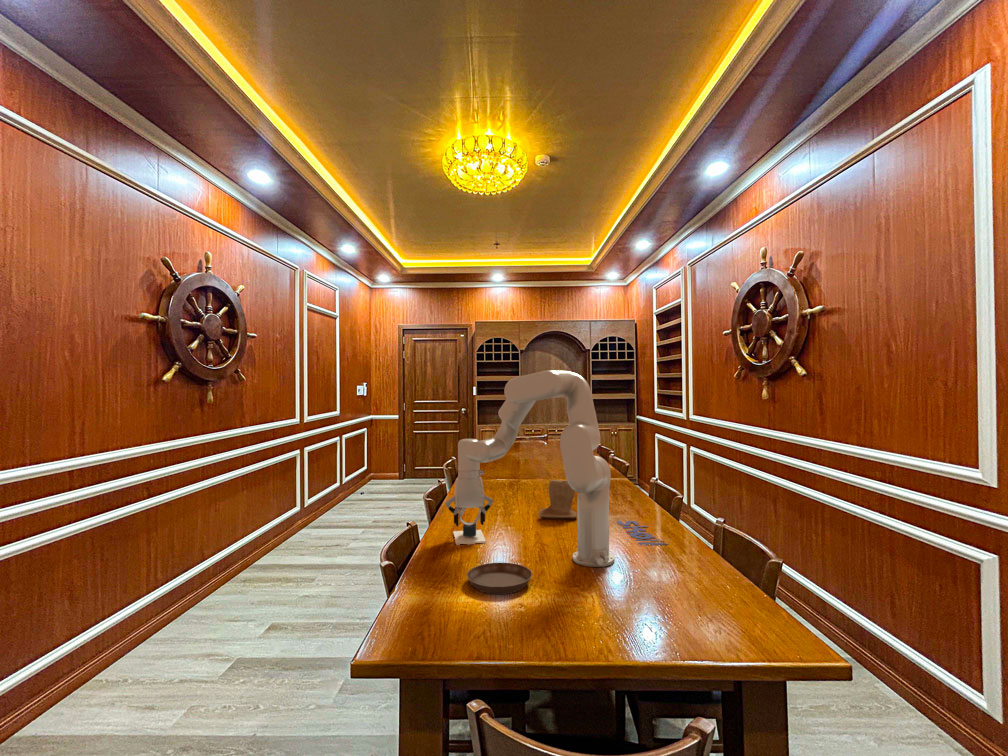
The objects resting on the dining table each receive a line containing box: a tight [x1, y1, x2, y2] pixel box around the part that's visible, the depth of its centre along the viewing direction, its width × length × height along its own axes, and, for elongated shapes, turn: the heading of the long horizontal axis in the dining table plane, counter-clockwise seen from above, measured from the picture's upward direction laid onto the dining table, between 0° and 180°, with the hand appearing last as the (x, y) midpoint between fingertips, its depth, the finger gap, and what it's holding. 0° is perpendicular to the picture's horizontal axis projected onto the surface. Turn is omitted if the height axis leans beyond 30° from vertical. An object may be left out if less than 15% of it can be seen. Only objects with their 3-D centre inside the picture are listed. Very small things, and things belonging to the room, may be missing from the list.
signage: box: [616, 520, 669, 546], centre depth 182 cm, size 28×1×10 cm
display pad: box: [452, 529, 487, 546], centre depth 176 cm, size 13×10×1 cm
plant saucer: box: [466, 562, 533, 595], centre depth 137 cm, size 18×18×3 cm
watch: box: [458, 507, 481, 536], centre depth 176 cm, size 6×8×11 cm
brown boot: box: [538, 479, 577, 519], centre depth 203 cm, size 15×12×15 cm
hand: (469, 524), depth 176 cm, fingers closed on watch, 8 cm apart
